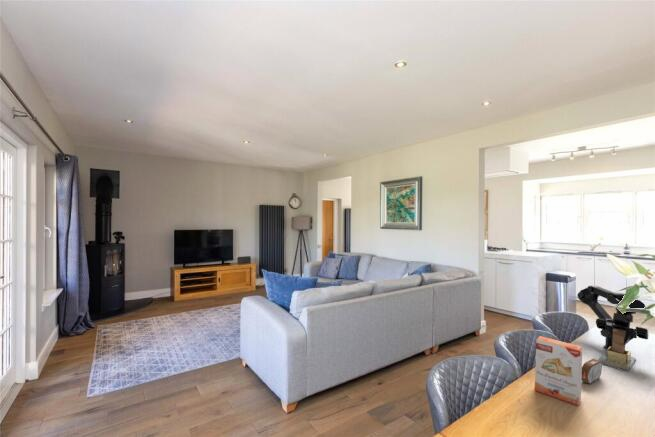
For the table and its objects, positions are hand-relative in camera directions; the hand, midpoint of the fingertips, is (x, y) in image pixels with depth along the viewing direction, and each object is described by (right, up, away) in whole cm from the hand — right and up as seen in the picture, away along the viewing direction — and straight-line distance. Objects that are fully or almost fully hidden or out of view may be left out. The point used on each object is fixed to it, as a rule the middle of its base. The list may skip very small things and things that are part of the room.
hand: (618, 343), depth 151 cm
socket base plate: (0, -9, +1) cm, 9 cm away
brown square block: (+1, -7, +1) cm, 7 cm away
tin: (-29, -9, -18) cm, 35 cm away
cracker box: (-52, -9, -30) cm, 61 cm away
